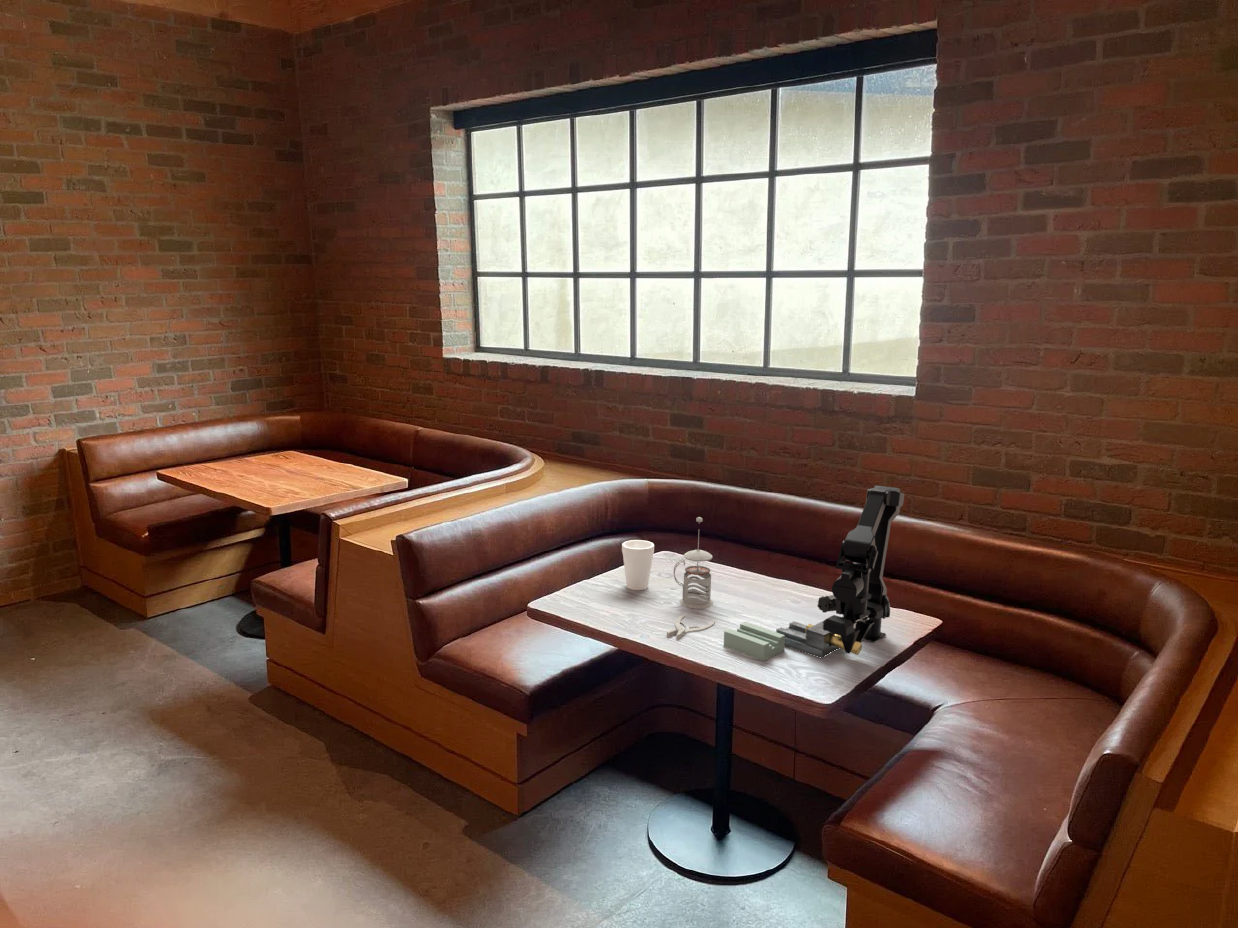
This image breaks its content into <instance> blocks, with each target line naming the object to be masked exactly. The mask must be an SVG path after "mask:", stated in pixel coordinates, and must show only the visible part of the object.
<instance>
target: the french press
mask: <svg viewBox="0 0 1238 928" xmlns="http://www.w3.org/2000/svg"><path fill="white" fill-rule="evenodd" d="M695 519H696V520H695V521H696V523H697V522H698V523H702V522H703V521H704V520H703V518H702V517H701V516H698V517H696V518H695ZM697 536H698V537H697V538H698V539H697V540H698V541H697V549H694V550H693V549H692V550H689V551H687V552H686V553H683V558H684V559H681V560H679V561H677V562H676V563H675V565H674V568H673V577H674V578H673V579H674V581H675V583H676V584H677V585H679V586H681V587H682V597H681V598H680V599H679V604H680V605H681V606H683V607H685V608H690V609H697V610H699V609H706V608H711V607H713V606H714V603H715V602H714V601H713V599H712V598H711V593H712V592H711V591H712V590H711V588H712V574H711V573H710V572H711V569H710V568H709V567H706V566H703V565H699V562H708V561H711V560H712V559H713V555H712V554H711V553H710V552H708V551H706V550H702V549H699V547H700V545H699V544H700V530H698V535H697ZM685 560H688V561H691V562H697V564H696V565H689V566H686V567H685V565H686V562H685ZM681 563H683V566H684V567H685V569H684V571H685V572H684V573H683V583H682V582H681V581H678V579H677V577H676V569H677V567H678V566H679V565H681ZM691 575H692V576H691ZM700 577H701V578H700ZM692 583H693V584H692ZM690 588H691V589H690ZM696 588H697V589H696Z"/></svg>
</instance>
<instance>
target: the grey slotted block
mask: <svg viewBox="0 0 1238 928" xmlns="http://www.w3.org/2000/svg"><path fill="white" fill-rule="evenodd" d="M823 621H824V620H822V621H820V622H818V623H816V624H813V625H814V626H812V627H810V628H808V629H806V627H807V626H808V624H807V625H806V624H803V623H800V622H797V621H795V620H794V621H792V622H789V623H788V627H785V628H784V627H782V626H781V627H779V628H777V629H776V631H775V632H777V633H780V634H783V635H785V645H784V647H788V648H791V649H793V650H796V649H797V650H796V651H799V650H800V652H802V651H803V652H802V653H805V652H806V653H805V654H807V653H809V654H808V655H810V654H812V655H811V656H813V655H815V656H814V657H816V656H818V657H817V658H819V657H821V658H820V659H823V658H825V657H826V656H825V655H827V654H829V653H830V652H832V651H834V650H836V649H838V650H840V649H839V648H838V647H835V646H833V645H830V644H829V639H830V634H832V632H829V631H826V630H823ZM805 630H806V634H805ZM836 651H837V650H836ZM834 652H835V651H834ZM829 655H830V654H829ZM824 656H825V657H824ZM827 656H828V655H827ZM822 657H823V658H822Z"/></svg>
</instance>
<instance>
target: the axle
mask: <svg viewBox="0 0 1238 928" xmlns="http://www.w3.org/2000/svg"><path fill="white" fill-rule="evenodd" d="M814 625H815V624H811V623H809V624H807V627H806V629H808V628H810V627H812V626H814ZM805 634H806V630H805ZM829 644H830V645H833V646H835V647H838V648H840V649H839V650H843V651H845V649H844V645H843V642H842V638H841V635H838V634H835V633H832V634H830V639H829ZM862 644H863V643H862V642H861V643H860V642H857V641H855V643H854V646H853V648H852V650H851V652H850V654H853V655H856V656H858V655H859V654H861V651H862V648H863V645H862Z"/></svg>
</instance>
